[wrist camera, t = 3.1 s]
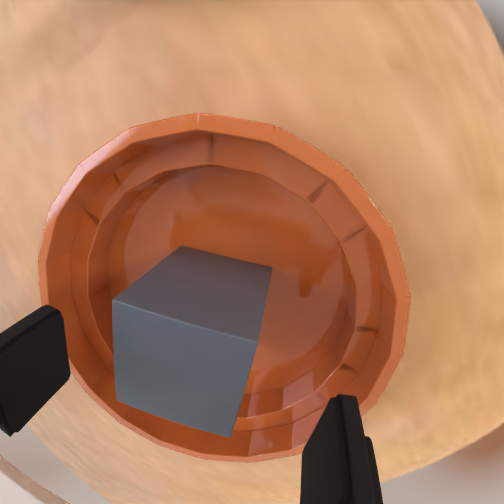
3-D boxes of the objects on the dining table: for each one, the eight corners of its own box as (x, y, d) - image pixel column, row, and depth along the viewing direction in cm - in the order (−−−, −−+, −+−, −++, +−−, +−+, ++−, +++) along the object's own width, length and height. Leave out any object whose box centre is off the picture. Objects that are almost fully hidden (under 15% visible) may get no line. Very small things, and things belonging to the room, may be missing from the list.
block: (171, 323, 16) (116, 400, 10) (181, 244, 15) (111, 298, 8) (252, 345, 16) (230, 438, 10) (272, 267, 14) (258, 342, 8)
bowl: (93, 363, 18) (59, 400, 14) (105, 114, 14) (50, 104, 10) (320, 427, 18) (323, 480, 13) (417, 178, 13) (464, 185, 9)
